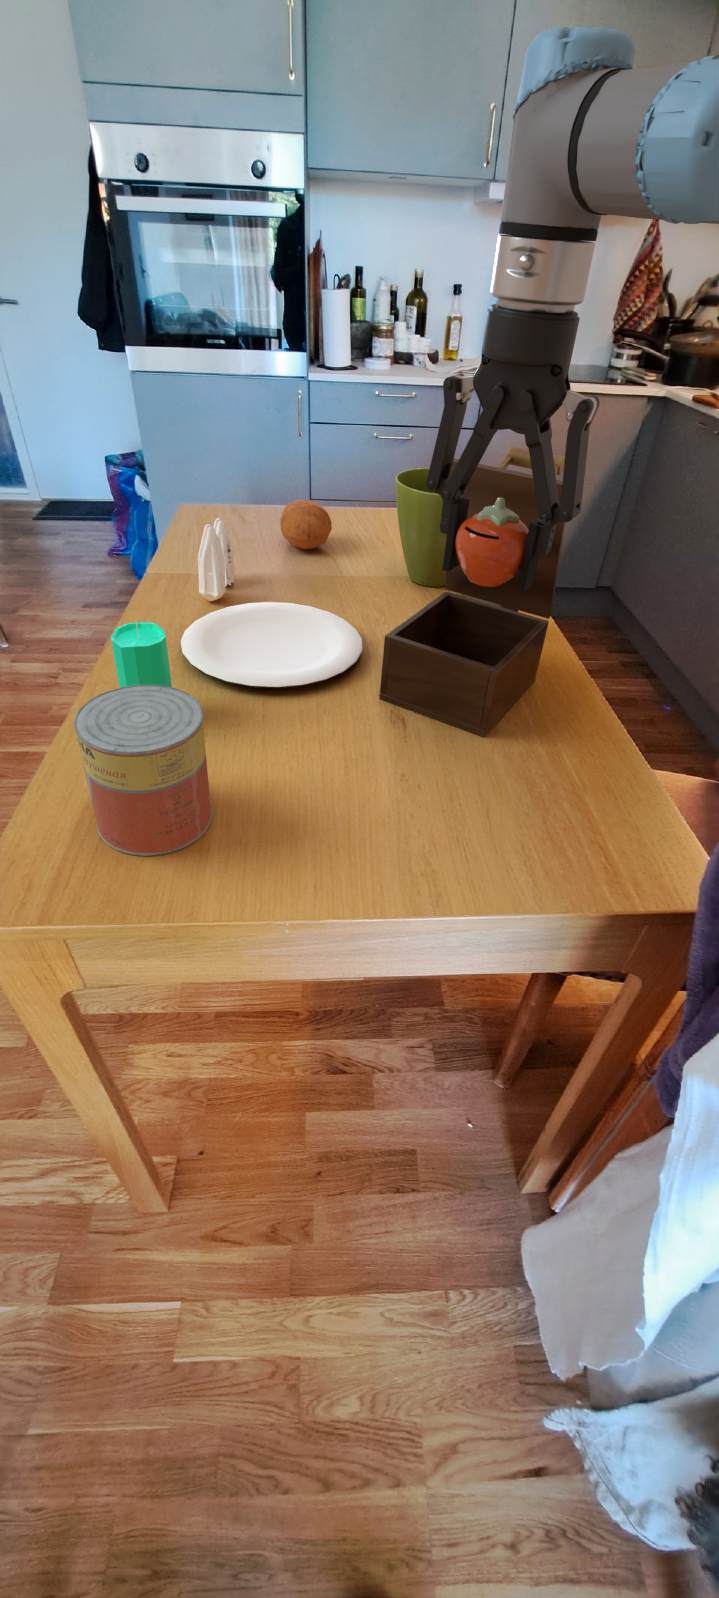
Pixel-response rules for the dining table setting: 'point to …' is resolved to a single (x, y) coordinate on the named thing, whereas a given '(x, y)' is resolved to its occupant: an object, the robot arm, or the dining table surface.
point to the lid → (521, 501)
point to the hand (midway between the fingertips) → (487, 576)
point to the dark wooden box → (462, 661)
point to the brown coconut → (305, 524)
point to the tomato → (491, 545)
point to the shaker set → (215, 561)
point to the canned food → (146, 768)
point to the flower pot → (420, 528)
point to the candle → (141, 655)
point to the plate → (271, 645)
